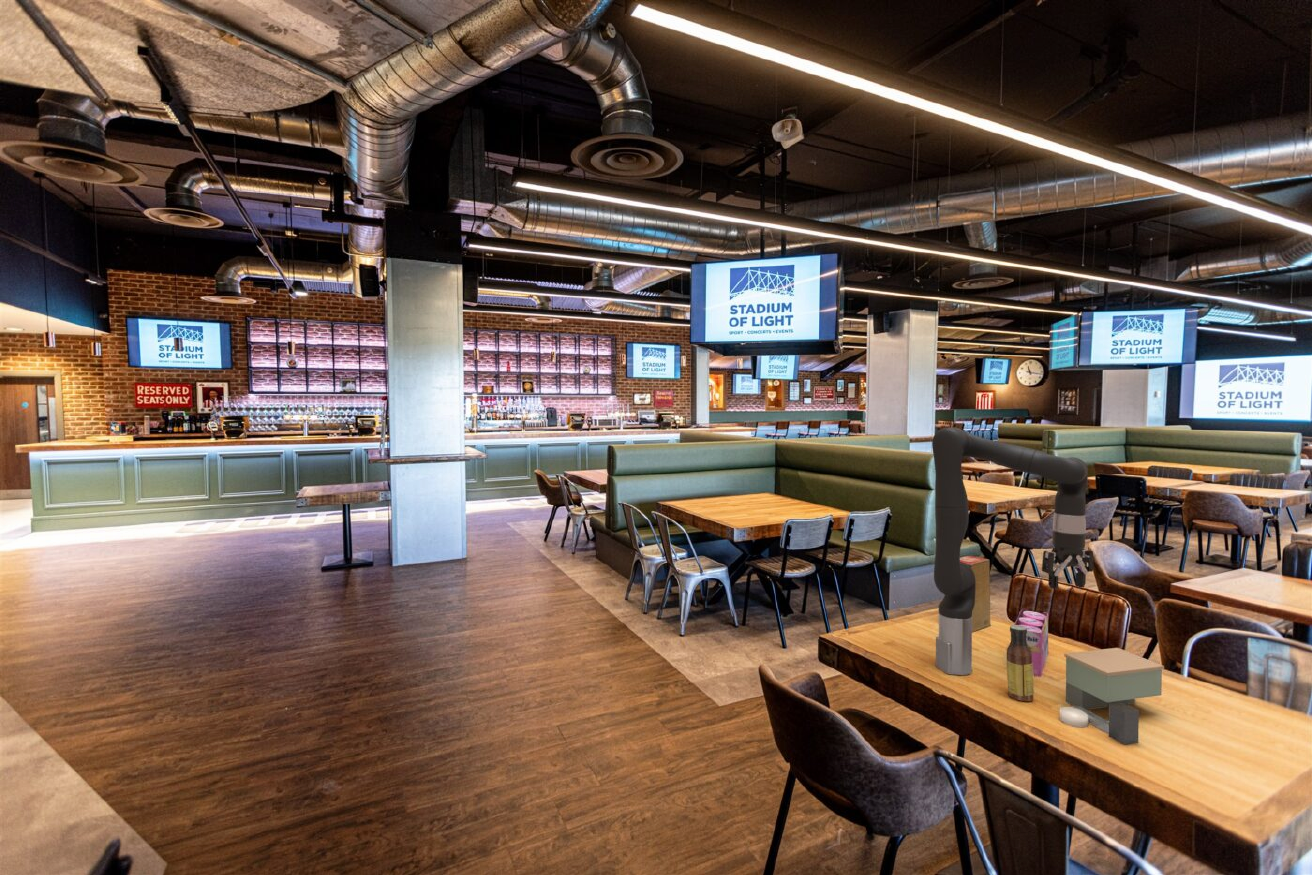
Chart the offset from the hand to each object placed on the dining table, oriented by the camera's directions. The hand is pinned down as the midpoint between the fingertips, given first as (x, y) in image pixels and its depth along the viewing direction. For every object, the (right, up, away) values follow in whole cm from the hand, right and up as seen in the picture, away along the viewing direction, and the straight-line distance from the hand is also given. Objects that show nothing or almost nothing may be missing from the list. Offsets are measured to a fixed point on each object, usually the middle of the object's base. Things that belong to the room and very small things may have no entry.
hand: (1066, 587), depth 165 cm
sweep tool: (-2, -31, -16) cm, 35 cm away
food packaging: (+3, -29, +57) cm, 64 cm away
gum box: (+5, -30, +24) cm, 39 cm away
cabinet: (+8, -31, -6) cm, 32 cm away
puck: (-7, -32, -13) cm, 35 cm away
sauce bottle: (-13, -31, +1) cm, 34 cm away
